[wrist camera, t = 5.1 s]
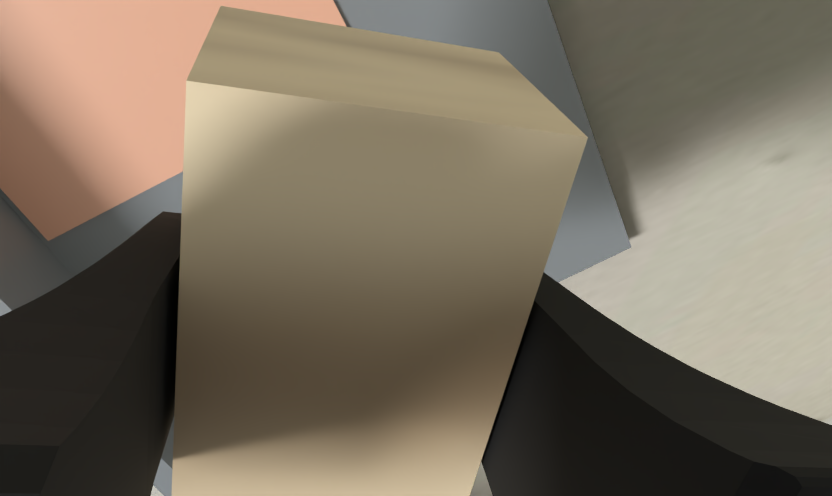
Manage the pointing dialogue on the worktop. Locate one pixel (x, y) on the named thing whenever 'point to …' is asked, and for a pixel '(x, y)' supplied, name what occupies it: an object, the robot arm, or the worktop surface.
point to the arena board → (165, 122)
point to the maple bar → (355, 256)
